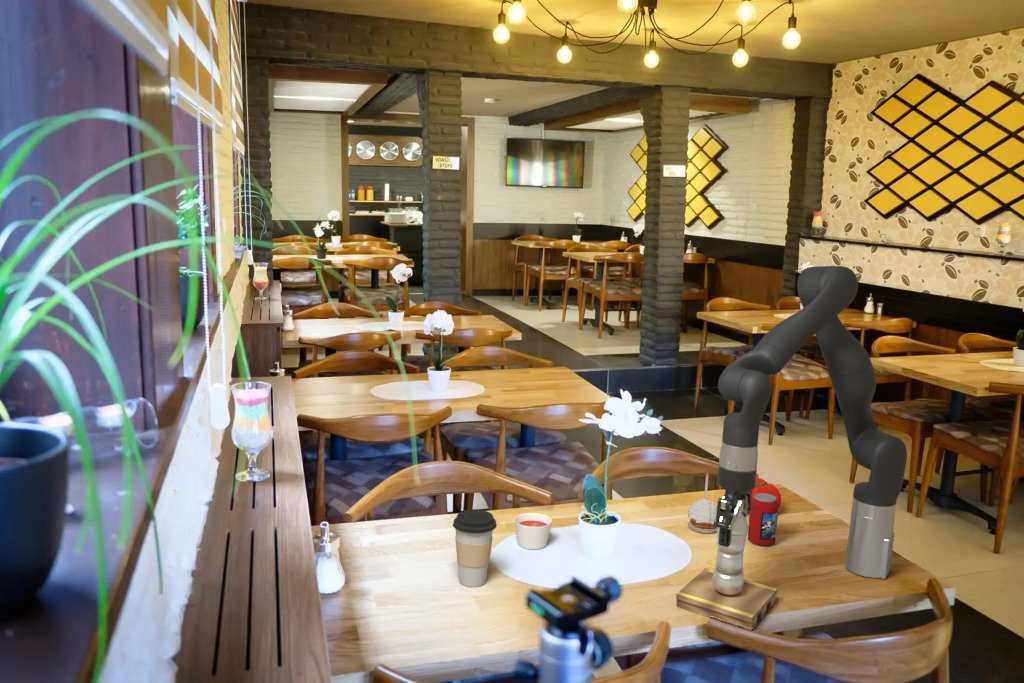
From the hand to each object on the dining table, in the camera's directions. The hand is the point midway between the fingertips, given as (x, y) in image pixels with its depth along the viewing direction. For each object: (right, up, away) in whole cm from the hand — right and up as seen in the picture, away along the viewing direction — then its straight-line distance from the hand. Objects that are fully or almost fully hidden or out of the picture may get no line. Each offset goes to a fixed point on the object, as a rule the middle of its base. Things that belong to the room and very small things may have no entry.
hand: (731, 539), depth 171 cm
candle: (-41, -9, +30) cm, 51 cm away
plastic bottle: (-1, -12, +2) cm, 12 cm away
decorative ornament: (+4, -8, +44) cm, 45 cm away
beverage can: (+17, -10, +36) cm, 41 cm away
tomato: (+22, -6, +58) cm, 62 cm away
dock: (-1, -14, +2) cm, 15 cm away
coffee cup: (-54, -12, +9) cm, 56 cm away
